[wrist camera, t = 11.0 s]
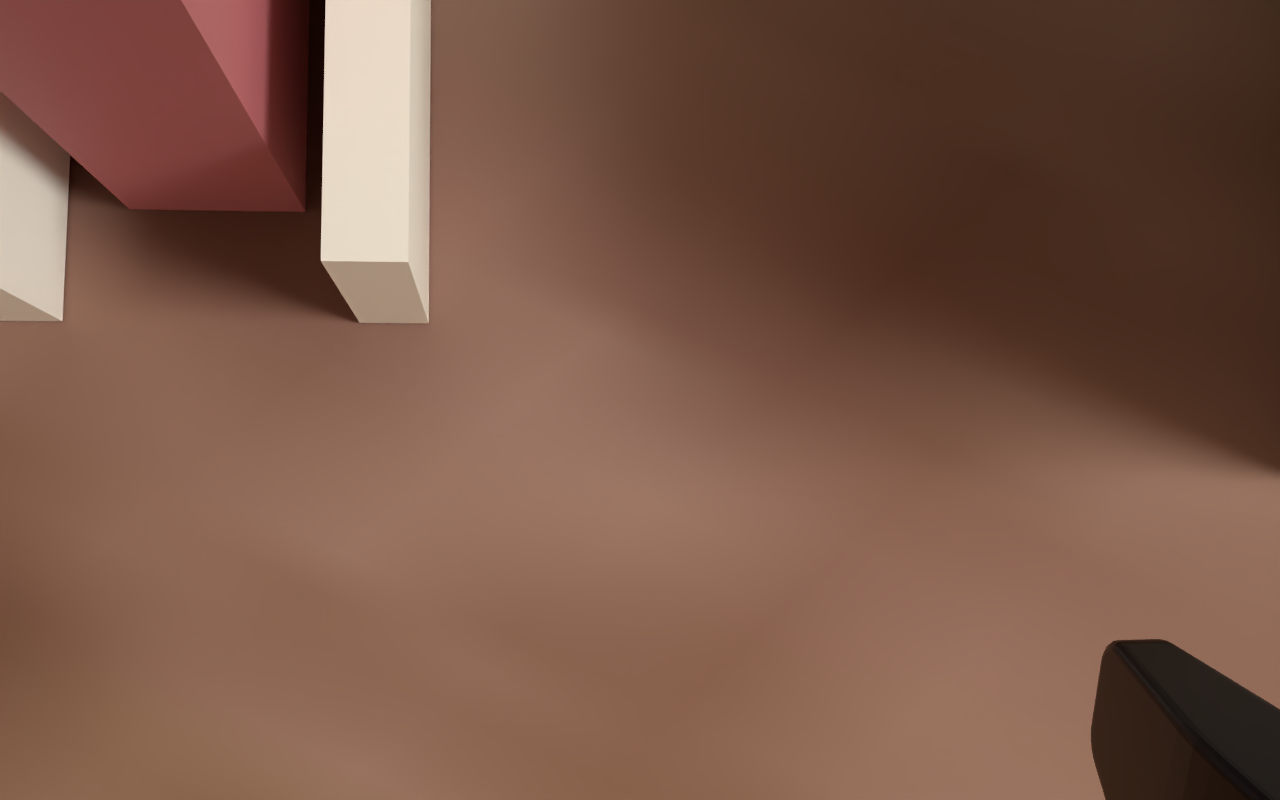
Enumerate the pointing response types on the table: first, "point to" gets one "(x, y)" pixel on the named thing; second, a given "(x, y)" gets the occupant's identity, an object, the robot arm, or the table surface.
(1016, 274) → the table surface
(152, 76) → the pinkish-red rectangular block
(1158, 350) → the table surface
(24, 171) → the rack
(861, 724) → the table surface
